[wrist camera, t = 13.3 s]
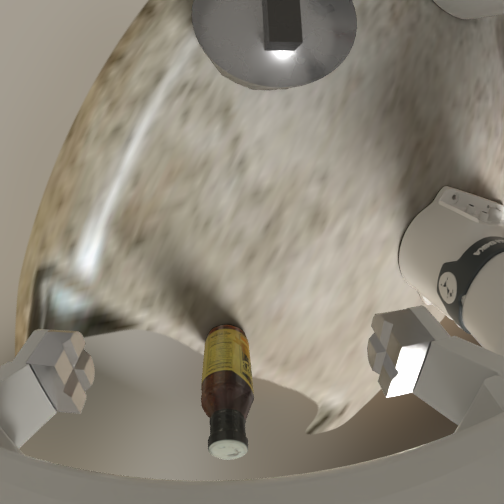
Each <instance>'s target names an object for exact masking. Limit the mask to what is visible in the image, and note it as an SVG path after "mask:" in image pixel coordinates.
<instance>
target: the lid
mask: <svg viewBox="0 0 504 504" xmlns="http://www.w3.org/2000/svg"><path fill="white" fill-rule="evenodd" d="M192 23H193V28H194V31H195V35H196V37H197V39H198V41H199V44H200V46H201V47H202V49H203V50H204V52H205V53H206V55H207V56H208V57H209V58H210V59H211V61H213V62H214V63H215V64H216V65H217V66H218V67H219V68H220V69H222V70H223V71H225V72H226V73H228V74H229V75H231V76H233V77H235V78H237V79H239V80H241V81H244V82H246V83H249V84H253V85H257V86H262V87H268V88H291V87H297V86H302V85H305V84H309V83H312V82H314V81H316V80H318V79H321V78H323V77H324V76H326V75H328V74H329V73H331V72H332V71H333V70H335V69H336V68H337V67H338V66H339V65H340V64H341V63H342V62H343V61H344V60H345V58H346V57H347V55H348V54H349V52H350V50H351V48H352V46H353V43H354V40H355V36H356V29H357V18H356V12H355V8H354V5H353V2H352V0H194V1H193V6H192Z"/></svg>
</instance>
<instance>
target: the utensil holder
mask: <svg viewBox="0 0 504 504" xmlns="http://www.w3.org/2000/svg"><path fill="white" fill-rule="evenodd" d="M433 1H434V2H435V3H436V4H437V5H438V6H439V7H440V8H442V9H443V10H444V11H446V12H447V13H449V14H451V15H453V16H455V17H457V18H460V19H476V18H482V17H489V16H495V15H501V14H504V0H433Z"/></svg>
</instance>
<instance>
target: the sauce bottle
mask: <svg viewBox="0 0 504 504" xmlns="http://www.w3.org/2000/svg"><path fill="white" fill-rule="evenodd" d="M253 393H254V392H253V383H252V372H251V363H250V352H249V343H248V340H247V338H246V336H245V333H244V332H243V331H242V330H241V329H240V328H238V327H235V326H232V325H221V326H217V327H215V328H213V329H212V330H211V331H210V332H209V334H208V336H207V339H206V342H205V350H204V362H203V373H202V396H201V397H202V398H201V402H202V408H203V410H204V412H205V413H206V415H207V416H208V417H210V426H211V427H210V436H209V439H208V450H209V452H210V454H211V455H213V456H215V457H217V458H220V459H226V460H227V459H228V460H229V459H230V460H231V459H236V458H240V457H242V456H243V455H244V454H246V452H247V451H248V439H247V438H246V433H245V422H246V418H247V415H248V413H249V410H250V407H251V405H252V403H253V400H254V394H253Z"/></svg>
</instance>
